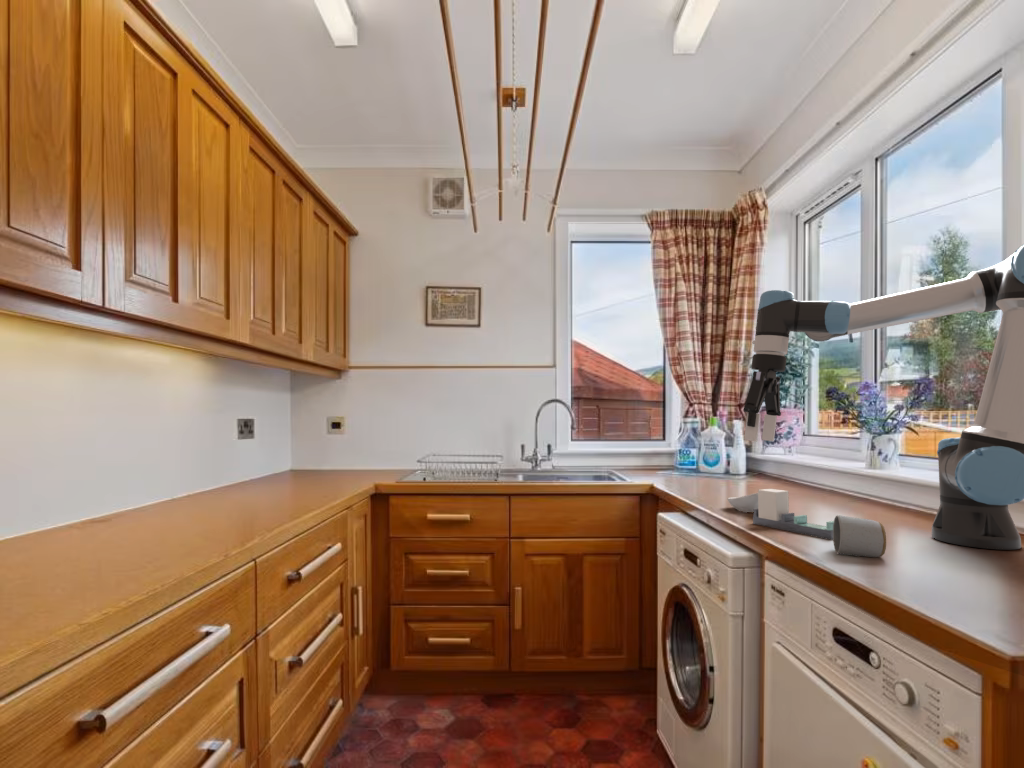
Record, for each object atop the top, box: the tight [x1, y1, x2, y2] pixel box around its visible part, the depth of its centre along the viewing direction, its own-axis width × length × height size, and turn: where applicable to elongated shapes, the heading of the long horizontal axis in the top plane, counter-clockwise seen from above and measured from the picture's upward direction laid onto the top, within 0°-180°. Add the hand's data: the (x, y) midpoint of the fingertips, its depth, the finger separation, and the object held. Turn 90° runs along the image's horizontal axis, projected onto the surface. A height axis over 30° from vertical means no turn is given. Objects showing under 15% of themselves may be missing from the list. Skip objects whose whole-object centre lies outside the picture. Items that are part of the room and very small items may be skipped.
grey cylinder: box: [832, 514, 887, 558], centre depth 109 cm, size 11×8×8 cm
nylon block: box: [757, 488, 790, 521], centre depth 135 cm, size 5×5×7 cm
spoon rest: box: [727, 492, 758, 513], centre depth 151 cm, size 24×12×7 cm, turn 2°
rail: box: [752, 509, 834, 540], centre depth 130 cm, size 20×4×4 cm, turn 29°
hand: (759, 440), depth 130 cm, fingers open, 13 cm apart
